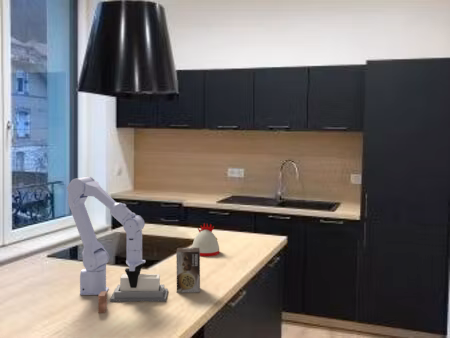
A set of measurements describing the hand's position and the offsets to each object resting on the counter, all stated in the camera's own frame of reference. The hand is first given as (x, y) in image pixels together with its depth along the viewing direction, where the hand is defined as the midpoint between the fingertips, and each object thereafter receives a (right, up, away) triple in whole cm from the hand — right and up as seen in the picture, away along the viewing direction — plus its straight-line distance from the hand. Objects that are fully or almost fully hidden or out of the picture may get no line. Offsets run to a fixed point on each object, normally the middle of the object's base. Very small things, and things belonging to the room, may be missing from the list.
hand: (134, 284), depth 199 cm
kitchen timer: (+24, +1, +67) cm, 71 cm away
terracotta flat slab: (-8, -6, -15) cm, 18 cm away
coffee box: (+19, -4, +8) cm, 21 cm away
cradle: (+2, -4, 0) cm, 5 cm away
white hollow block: (+2, -2, 0) cm, 3 cm away
